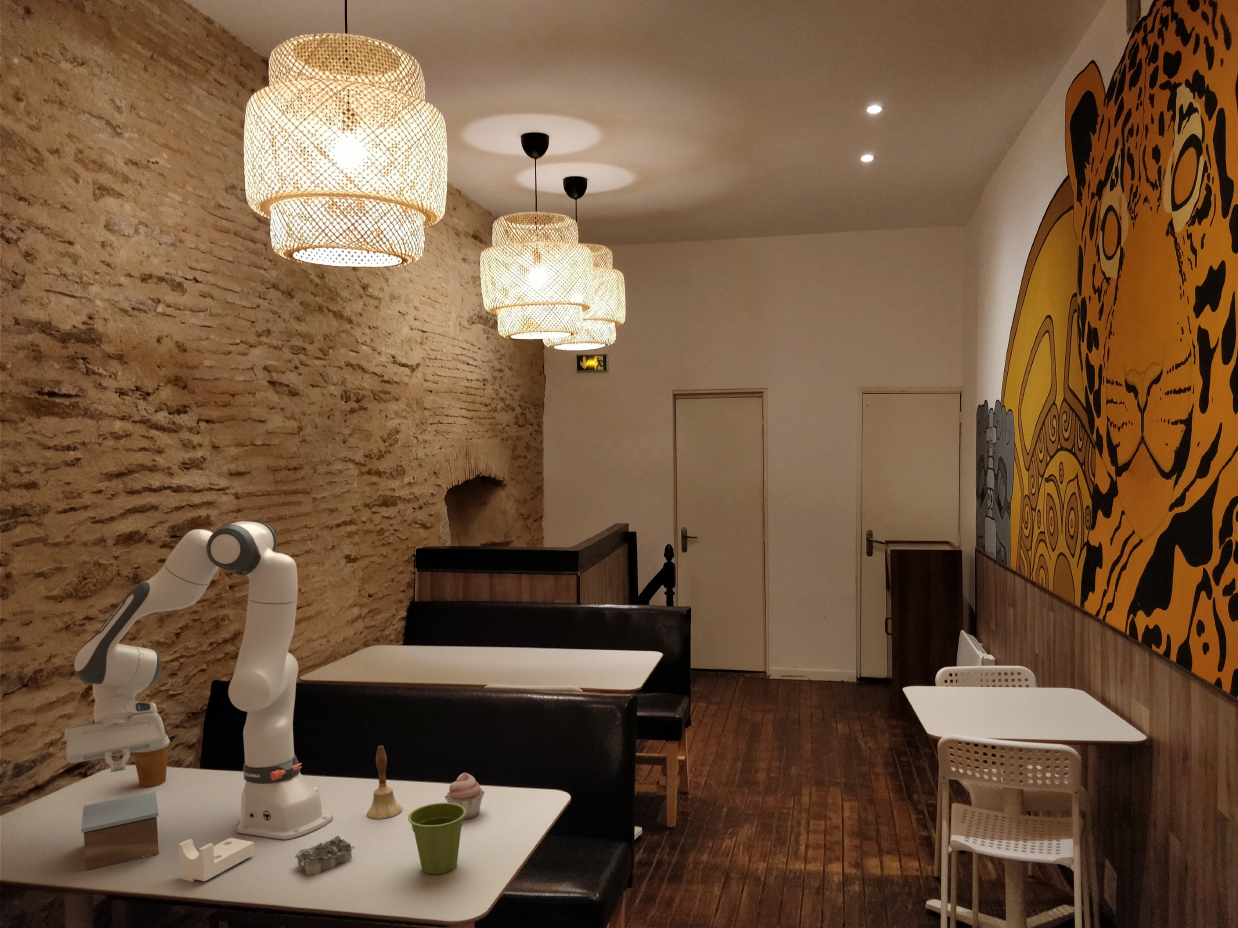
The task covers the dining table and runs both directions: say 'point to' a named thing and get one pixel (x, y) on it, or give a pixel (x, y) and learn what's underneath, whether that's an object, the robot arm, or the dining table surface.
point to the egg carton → (324, 855)
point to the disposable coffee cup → (152, 765)
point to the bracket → (212, 858)
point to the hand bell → (383, 792)
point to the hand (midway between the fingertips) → (118, 769)
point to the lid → (119, 811)
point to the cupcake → (466, 794)
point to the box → (121, 843)
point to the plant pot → (437, 835)
